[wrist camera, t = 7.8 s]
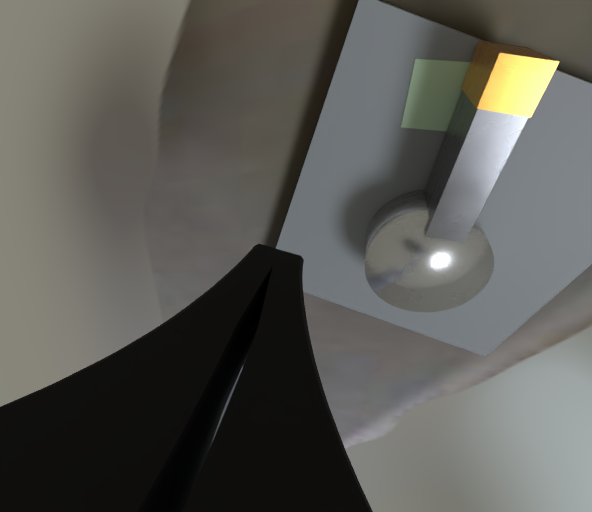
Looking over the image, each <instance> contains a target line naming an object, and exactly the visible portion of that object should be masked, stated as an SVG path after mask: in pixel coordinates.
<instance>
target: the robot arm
mask: <svg viewBox="0 0 592 512" xmlns="http://www.w3.org/2000/svg"><path fill="white" fill-rule="evenodd" d="M303 263H304V259H303V258H302V256H300V255H297V254H293V253H290V252H286V251H283V250H279V249H276V248H272V247H268V246H265V245H261V244H258V245H256V246H254V247H253V248H252V250H251V251H250V252H249V253H248V254H247V255H246V256H245V257H244V258H243V259H242V260H241V261H240V262H239V263H238V264H237V265H236V266H235V267H234V268H233V269H232V270H231V271H230V272H229V273H228V274H226V275H225V276H224V277H223V278H222V279H221V280H220V281H218V282H217V283H216V284H215V285H214V286H213V287H212V288H210V289H209V290H208V291H207V292H205V293H204V294H203V295H202V296H200V297H199V298H198V299H196V300H195V301H194V302H192V303H191V304H190V305H189V306H187V307H186V308H185V309H183V310H182V311H180V312H179V313H178V314H176V315H175V316H173V317H172V318H170V319H169V320H168V321H166V322H164V323H163V324H161V325H160V326H158V327H157V328H155V329H154V330H152V331H151V332H149V333H147V334H146V335H144V336H142V337H141V338H139V339H137V340H136V341H134V342H132V343H131V344H129V345H127V346H126V347H124V348H122V349H120V350H118V351H117V352H115V353H113V354H111V355H109V356H108V357H106V358H104V359H102V360H100V361H98V362H96V363H94V364H92V365H90V366H88V367H86V368H84V369H82V370H80V371H78V372H76V373H74V374H72V375H70V376H68V377H66V378H64V379H62V380H60V381H58V382H56V383H54V384H52V385H49V386H47V387H45V388H43V389H41V390H38V391H36V392H34V393H31V394H29V395H27V396H24V397H22V398H20V399H18V400H15V401H13V402H11V403H9V404H6V405H4V406H1V407H0V512H372V510H371V507H370V505H369V503H368V501H367V499H366V496H365V494H364V492H363V490H362V488H361V486H360V483H359V481H358V479H357V476H356V474H355V472H354V469H353V467H352V465H351V462H350V460H349V458H348V455H347V453H346V451H345V448H344V445H343V443H342V440H341V438H340V435H339V432H338V430H337V427H336V424H335V422H334V419H333V416H332V414H331V411H330V408H329V406H328V402H327V399H326V396H325V393H324V390H323V387H322V384H321V380H320V377H319V373H318V370H317V366H316V362H315V358H314V354H313V350H312V346H311V341H310V336H309V331H308V326H307V320H306V312H305V305H304V296H303V278H302V275H303ZM244 362H245V363H244ZM243 364H244V365H243Z"/></svg>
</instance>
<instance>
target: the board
mask: <svg viewBox="0 0 592 512" xmlns="http://www.w3.org/2000/svg"><path fill="white" fill-rule="evenodd" d="M478 41H484V40H481V39H478V38H476V37H473V36H471V35H468V34H466V33H463V32H460V31H458V30H455V29H453V28H450V27H448V26H445V25H442V24H440V23H437V22H435V21H432V20H430V19H427V18H424V17H422V16H419V15H417V14H414V13H412V12H409V11H407V10H404V9H401V8H399V7H396V6H394V5H391V4H389V3H386V2H383V1H381V0H359V1H358V4H357V7H356V10H355V13H354V16H353V19H352V22H351V25H350V28H349V31H348V34H347V37H346V40H345V43H344V46H343V49H342V52H341V55H340V58H339V61H338V64H337V67H336V70H335V73H334V76H333V79H332V82H331V85H330V88H329V91H328V94H327V97H326V100H325V103H324V106H323V109H322V112H321V115H320V118H319V121H318V124H317V127H316V130H315V133H314V135H313V138H312V141H311V144H310V147H309V150H308V153H307V156H306V159H305V162H304V165H303V168H302V171H301V174H300V177H299V180H298V183H297V186H296V189H295V192H294V195H293V198H292V201H291V204H290V207H289V210H288V213H287V216H286V219H285V222H284V225H283V228H282V231H281V234H280V237H279V240H278V243H277V246H276V249H279V250H283V251H286V252H290V253H293V254H297V255H300V256H302V258H303V259H304V263H303V275H302V278H303V292H305V293H308V294H311V295H314V296H316V297H319V298H322V299H325V300H328V301H331V302H333V303H336V304H339V305H342V306H345V307H347V308H350V309H353V310H356V311H359V312H361V313H364V314H367V315H370V316H373V317H376V318H378V319H381V320H384V321H387V322H390V323H392V324H395V325H398V326H401V327H404V328H406V329H409V330H412V331H415V332H418V333H421V334H423V335H426V336H429V337H432V338H435V339H437V340H440V341H443V342H446V343H449V344H451V345H454V346H457V347H460V348H463V349H466V350H468V351H471V352H474V353H477V354H480V355H482V356H485V357H486V356H487V355H488V354H489V353H490V352H491V351H493V350H494V349H495V348H496V347H497V346H498V345H499V344H501V343H502V342H503V341H504V340H505V339H506V338H507V337H509V336H510V335H511V334H512V333H513V332H514V331H515V330H517V329H518V328H519V327H520V326H521V325H522V324H523V323H525V322H526V321H527V320H528V319H529V318H530V317H531V316H533V315H534V314H535V313H536V312H537V311H538V310H539V309H541V308H542V307H543V306H544V305H545V304H546V303H547V302H549V301H550V300H551V299H552V298H553V297H554V296H556V295H557V294H558V293H559V292H560V291H561V290H562V289H564V288H565V287H566V286H567V285H568V284H569V283H570V282H572V281H573V280H574V279H575V278H576V277H577V276H578V275H580V274H581V273H582V272H583V271H584V270H585V269H586V268H588V267H589V266H590V265H591V264H592V83H591V82H589V81H586V80H584V79H581V78H579V77H576V76H573V75H571V74H568V73H566V72H563V71H561V70H558V69H556V70H555V71H554V73H553V75H552V77H551V79H550V81H549V83H548V85H547V87H546V89H545V91H544V93H543V95H542V97H541V99H540V101H539V103H538V105H537V107H536V108H535V110H534V112H533V114H532V116H531V118H530V117H528V119H527V121H526V123H525V125H524V127H523V129H522V131H521V133H520V135H519V137H518V139H517V141H516V143H515V145H514V147H513V149H512V151H511V153H510V155H509V157H508V159H507V161H506V162H505V164H504V166H503V168H502V170H501V172H500V174H499V176H498V178H497V180H496V182H495V184H494V186H493V188H492V190H491V192H490V194H489V196H488V198H487V200H486V202H485V204H484V206H483V208H482V210H481V212H480V214H479V216H478V217H479V220H480V222H481V224H482V227H483V229H484V232H485V234H486V236H487V239H488V241H489V244H490V246H491V248H492V251H493V255H494V269H493V273H492V276H491V278H490V280H489V282H488V283H487V285H486V286H485V288H484V289H483V290H482V291H481V292H480V293H479V294H478V295H476V296H475V297H474V298H472V299H471V300H469V301H468V302H466V303H464V304H462V305H460V306H457V307H455V308H452V309H448V310H444V311H439V312H413V311H407V310H403V309H400V308H397V307H394V306H392V305H390V304H388V303H387V302H385V301H384V300H382V299H381V298H380V297H378V296H377V295H376V294H375V292H374V291H373V290H372V289H371V287H370V285H369V283H368V281H367V278H366V275H365V255H366V238H367V230H368V227H369V224H370V222H371V220H372V218H373V217H374V215H375V214H376V213H377V212H378V211H379V210H380V209H381V208H382V207H383V206H384V205H385V204H386V203H388V202H389V201H391V200H393V199H394V198H396V197H399V196H401V195H403V194H406V193H410V192H414V191H421V190H425V187H426V185H427V182H428V179H429V177H430V174H431V171H432V169H433V166H434V163H435V161H436V158H437V155H438V153H439V150H440V147H441V145H442V142H443V139H444V137H445V134H446V131H447V129H448V126H449V123H450V121H451V118H452V115H453V113H454V110H455V107H456V105H457V102H458V99H459V97H460V94H461V91H462V89H461V87H462V84H463V81H464V79H465V76H466V73H467V71H468V68H469V65H470V62H471V60H472V57H473V54H474V52H475V49H476V46H477V44H478Z"/></svg>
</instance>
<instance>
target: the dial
mask: <svg viewBox="0 0 592 512" xmlns="http://www.w3.org/2000/svg"><path fill="white" fill-rule="evenodd" d="M558 64H559V61H557V60H555V59H552V58H550V57H548V56H545V55H543V54H541V53H539V52H536V51H534V50H532V49H530V48H527V47H520V46H514V45H507V44H500V43H493V42H486V41H478V44H477V46H476V49H475V52H474V54H473V57H472V60H471V62H470V65H469V68H468V71H467V73H466V76H465V79H464V81H463V84H462V87H461V89H462V91H461V94H460V97H459V99H458V102H457V105H456V107H455V110H454V113H453V115H452V118H451V121H450V123H449V126H448V129H447V131H446V134H445V137H444V139H443V142H442V145H441V147H440V150H439V153H438V155H437V158H436V161H435V163H434V166H433V169H432V171H431V174H430V177H429V179H428V182H427V185H426V187H425V190H421V191H414V192H410V193H406V194H403V195H401V196H399V197H396V198H394V199H393V200H391V201H389V202H388V203H386V204H385V205H384V206H383V207H382V208H381V209H380V210H379V211H378V212H377V213H376V214H375V215H374V217H373V218H372V220H371V222H370V224H369V227H368V230H367V238H366V255H365V275H366V278H367V281H368V283H369V285H370V287H371V289H372V290H373V291H374V292H375V294H376V295H377V296H378V297H380V298H381V299H382V300H384V301H385V302H387V303H388V304H390V305H392V306H394V307H397V308H400V309H403V310H407V311H413V312H439V311H444V310H448V309H452V308H455V307H457V306H460V305H462V304H464V303H466V302H468V301H469V300H471V299H472V298H474V297H475V296H476V295H478V294H479V293H480V292H481V291H482V290H483V289H484V288H485V286H486V285H487V283H488V282H489V280H490V278H491V276H492V273H493V269H494V255H493V251H492V248H491V246H490V244H489V241H488V239H487V236H486V234H485V232H484V229H483V227H482V224H481V222H480V220H479V217H478V216H479V214H480V212H481V210H482V208H483V206H484V204H485V202H486V200H487V198H488V196H489V194H490V192H491V190H492V188H493V186H494V184H495V182H496V180H497V178H498V176H499V174H500V172H501V170H502V168H503V166H504V164H505V162H506V161H507V159H508V157H509V155H510V153H511V151H512V149H513V147H514V145H515V143H516V141H517V139H518V137H519V135H520V133H521V131H522V129H523V127H524V125H525V123H526V121H527V119H528V117H530V118H531V116H532V114H533V112H534V110H535V108H536V107H537V105H538V103H539V101H540V99H541V97H542V95H543V93H544V91H545V89H546V87H547V85H548V83H549V81H550V79H551V77H552V75H553V73H554V71H555V70H556V68H557V66H558Z"/></svg>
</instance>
